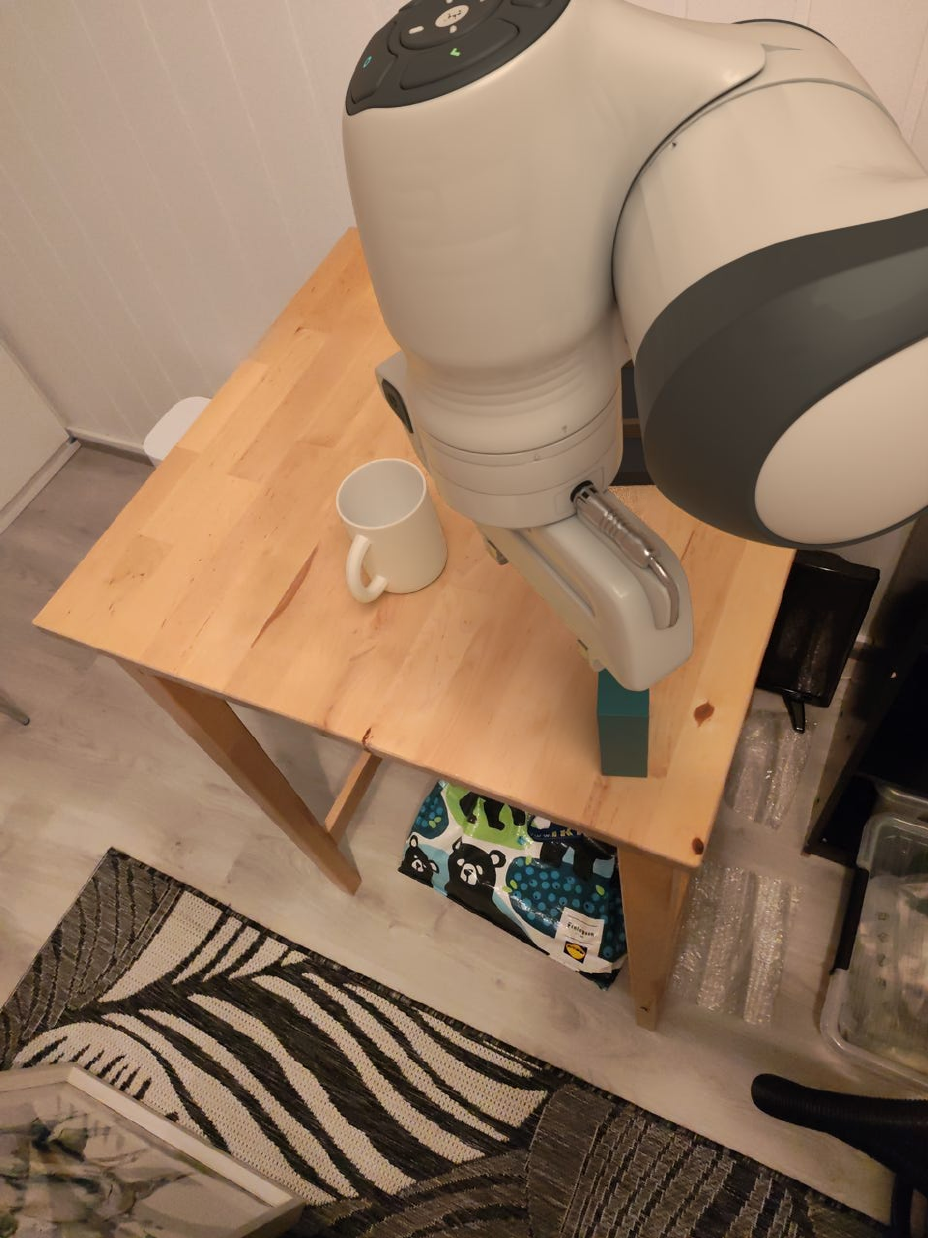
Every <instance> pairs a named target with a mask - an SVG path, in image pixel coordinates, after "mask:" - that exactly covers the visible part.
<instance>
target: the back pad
mask: <svg viewBox="0 0 928 1238" xmlns="http://www.w3.org/2000/svg"><path fill="white" fill-rule="evenodd" d="M597 673H598V674H597V695H596V696H597V698H596V699H597V701H596V722H597V723H596V724H597V733H598V743H599V754H600V755H599V756H600V767H601V775H602V776H604V777H624V778H648V768H649V767H648V766H649V761H648V760H649V737H650V735H649V732H650V688H648V689H646V690H643V691H632V690H628V689H626V688H624V687H623V686H622V685H621V684H620V683H619V682H618V681H617V680H616V679H615V678H614V677H613V676H612V674H611V673H610V672H609V671H608V670H607V669H606V668H605V669H603V670H602V671H600V672H597Z"/></svg>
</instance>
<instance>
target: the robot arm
mask: <svg viewBox="0 0 928 1238" xmlns="http://www.w3.org/2000/svg"><path fill="white" fill-rule="evenodd" d="M341 119H342V120H341V134H342V136H341V137H342V147H343V157H344V165H345V171H346V179H347V184H348V190H349V195H350V201H351V206H352V210H353V214H354V219H355V223H356V228H357V231H358V232H357V233H358V237H359V239H360V244H361V249H362V252H363V256H364V260H365V263H366V266H367V270H368V274H369V277H370V278H369V279H370V281H371V285H372V288H373V291H374V294H375V298H376V302H377V304H378V308H379V311H380V314H381V317H382V320H383V322H384V325H385V327H386V329H387V331H388V332H389V334H390V336H391V337H392V339H393V340H394V342H395V343H396V345H397V346H398V347H399V348H400V350H399V351H397V352H395V353H394V354H392V355H391V356H390V357H388V358H386V359H385V360H383V361H381V362H380V363H379V364H378V365H376V366H375V367H374V375H375V380H376V382H377V385H378V388H379V391H380V393H381V395H382V397H383V398H384V400H385V402H386V403H387V404H388V406H389V407H390V409H391V410H392V411H393V413H395V415H396V416H397V417H398V419H399V420H400V422H401V424H402V426H403V428H404V430H405V433H406V435H407V438H408V440H409V443H410V445H411V447H412V449H413V451H414V453H415V455H416V456H417V458H418V460H419V462H420V463H421V465H422V467H423V468H424V469H425V470H426V472H427V473H428V474H429V476H430V477H431V478H432V482H433V484H434V487H435V489H436V491H437V493H438V494H439V496H440V497H441V498H442V500H443V501H444V502H445V504H447V505H448V506H449V508H451V509H452V510H453V511H454V512H456V513H458V514H459V515H461V516H462V517H464V518H466V519H468V520H470V521H471V522H472V523H473V524H474V526H475V527H476V528H477V530H478V532H479V534H480V535H481V537H482V541H483V544H484V548H485V551H486V552H487V553H488V554H489V555H490V557H492V558H493V560H494V561H496V563H497V564H498V565H500V566H504V565H506V564H508V563H510V565H511V566H512V567H513V568H514V569H515V570H516V571H517V572H518V573H519V574H520V575H521V577H522V578H523V579H524V580H525V581H526V582H527V583H528V584H529V586H530V587H531V588H532V589H533V590H534V591H535V592H536V593H537V595H539V596H540V597H541V599H542V600H543V601H544V602H546V604H547V605H548V606H549V607H550V608H551V610H552V611H553V612H554V613H555V614H556V615H557V616H558V617H559V618H560V620H562V622H563V623H564V624H565V625H566V626H567V627H568V629H570V631H571V632H572V633H573V634H574V635H575V636H576V637H577V639H578V640H577V642H576V643H577V648H578V654H579V655H580V657H581V658H582V659H583V661H585V662H586V664H587V665H588V666H589V667H590V668H591V669H592V670H593V672H595V673H598V672H600V671H602V670H603V669H605V668H606V669H607V670H608V671H609V672H610V673H611V674H612V676H613V677H614V678H615V679H616V680H617V681H618V682H619V683H620V684H621V685H622V686H623V687H624V688H626V689H628V690H632V691H643V690H646V689H648V688H649V689H650V688H651V687H653V686H656V685H657V684H658V683H660V682H661V681H663V680H664V679H666V678H668V677H669V676H670V675H672V674H673V673H674V672H676V671H677V670H678V669H680V668H681V667H682V666H683V665H684V664H685V663H686V662H688V661H689V660H690V658H691V657H692V655H693V653H694V649H695V646H694V645H695V626H694V625H695V624H694V610H693V603H692V602H693V601H692V595H691V588H690V583H689V580H688V576H687V573H686V570H685V568H684V566H683V564H682V562H681V560H680V558H679V557H678V555H677V554H676V553H675V551H674V550H673V549H672V548H671V546H670V545H669V544H668V543H667V542H666V541H665V540H664V539H663V538H662V537H661V536H660V535H659V533H657V532H656V531H655V530H654V529H653V528H652V527H651V526H649V525H648V524H647V523H646V522H645V521H644V520H643V519H642V518H641V517H639V516H638V515H637V513H635V512H634V511H633V510H632V509H631V508H630V507H628V506H627V505H626V504H625V503H624V502H623V501H622V500H621V499H620V498H619V497H617V496H616V495H615V494H614V493H613V492H612V491H611V490H610V489H609V487H610V486H609V485H610V484H611V482H612V481H613V479H614V477H615V476H616V474H617V471H618V469H619V467H620V463H621V460H622V454H623V424H622V391H621V368H622V366H623V365H624V364H625V363H626V362H627V361H629V360H631V359H632V360H633V364H634V384H635V392H636V399H637V407H638V414H639V422H640V429H641V437H642V444H643V452H644V459H645V463H646V467H647V470H648V472H649V475H650V477H651V479H652V480H653V482H654V484H655V485H654V486H655V487H656V488H657V490H658V491H659V492H660V493H661V494H662V495H663V496H664V497H665V498H666V499H667V500H668V501H669V502H671V503H672V504H673V505H675V506H676V507H678V508H679V509H680V510H682V511H684V512H685V513H686V514H688V515H690V516H691V517H692V518H694V519H696V520H698V521H700V522H701V523H704V524H706V525H708V526H710V527H712V528H714V529H717V530H719V531H722V532H724V533H726V534H729V535H732V536H734V537H738V538H740V539H743V540H747V541H750V542H754V543H758V544H761V545H766V546H770V547H776V548H783V549H789V550H800V551H827V550H834V549H841V548H846V547H850V546H854V545H855V546H856V545H859V544H861V543H866V542H868V541H871V540H874V539H877V538H880V537H882V536H884V535H887V534H889V533H893V532H894V531H896V530H898V529H900V528H903V527H904V526H906V525H908V524H910V523H912V522H914V521H915V520H917V519H919V518H921V517H922V516H924V515H925V514H927V513H928V169H927V168H926V167H925V165H924V164H923V162H922V161H921V159H920V158H919V157H918V156H917V155H916V153H915V151H914V150H913V149H912V147H911V146H910V145H909V143H908V142H907V140H906V139H905V138H904V136H903V134H902V132H901V129H900V126H899V124H898V123H897V121H896V120H895V118H894V117H893V116H892V114H891V112H889V110H888V109H887V107H886V106H885V104H884V103H883V102H882V101H881V98H880V97H879V96H878V95H877V93H876V91H874V89H873V88H872V87H871V85H870V84H869V82H868V81H867V80H866V79H865V77H864V76H863V75H862V73H860V70H858V68H857V67H856V66H855V65H854V63H852V61H851V60H850V59H849V58H848V57H847V55H845V54H844V53H843V51H841V50H840V49H839V47H837V46H836V45H835V44H834V43H833V42H832V41H831V40H830V39H829V38H827V36H824V35H823V34H822V33H820V32H818V31H817V30H815V29H813V28H811V27H809V26H806V25H804V24H801V23H798V22H794V21H790V20H785V19H778V18H753V19H745V20H739V21H734V22H731V23H728V22H727V23H725V22H711V21H702V20H694V19H689V18H683V17H677V16H674V15H671V14H670V15H669V14H666V13H662V12H658V11H654V10H651V9H649V8H645V7H642V6H639V5H637V4H634V3H632V2H629V1H627V0H409V2H407V3H406V4H405V5H403V6H401V7H400V8H399V9H398V11H397V13H396V14H395V15H394V16H393V17H391V18H390V19H389V20H388V21H387V22H386V23H385V24H384V25H383V26H382V27H380V29H378V30H377V31H376V32H375V33H374V34H373V35H372V36H371V38H370V40H369V41H368V43H367V44H366V46H365V48H364V50H363V52H362V54H361V55H360V57H359V59H358V61H357V63H356V66H355V68H354V71H353V73H352V76H351V77H350V80H349V83H348V86H347V90H346V94H345V99H344V103H343V110H342V118H341Z"/></svg>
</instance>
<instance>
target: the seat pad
mask: <svg viewBox="0 0 928 1238" xmlns="http://www.w3.org/2000/svg"><path fill="white" fill-rule="evenodd" d="M621 391H622V424H623V454H622V460H621V463H620V467H619V469H618V471H617V474H616V476H615V477H614V479H613V481H612V482H611V484H610V485H609V486H608V487H617V486H618V487H621V486H656V485H655V484H654V482H653V480H652V479H651V477H650V475H649V472H648V470H647V467H646V463H645V459H644V452H643V444H642V437H641V429H640V422H639V414H638V407H637V399H636V392H635V384H634V364H633V360H632V359H631V360H629V361H627V362H626V363H625V364H624V365H623V366H622V368H621Z"/></svg>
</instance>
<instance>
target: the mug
mask: <svg viewBox="0 0 928 1238" xmlns="http://www.w3.org/2000/svg"><path fill="white" fill-rule="evenodd" d="M335 508H336V511H337V514H338V516H339V518H340V520H341V522H342V524H343V526H344V528H345V531H346V533H347V535H348V536H349V539H350V541H351V545H350V547H349V550H348V553H347V557H346V561H345V562H346V563H345V581H346V585H347V589H348V591H349V594H351V596H352V598H354V599H355V601H358V602H360V603H370V602H373V601H375V600H377V599H378V598H379V597H380V595H382V593H383V592H384V591H386V592H388V593H392V594H408V593H414V592H417V591H420V590H422V589H424V588H426V587H428V586H429V585H431V584H432V583H433V582H435V580H436V579H438V578H439V576H440V575H441V573H443V570H444V568H445V566H446V563H447V560H448V548H447V543H446V539H445V536H444V533H443V530H442V527H441V523H440V520H439V517H438V514H437V511H436V508H435V504H434V501H433V498H432V494H431V492H430V488H429V486H428V482H427V479H426V476H425V474H424V473H423V471H422V470H421V469H420V468H419V467H418V466H417V465H416V464H414V463H412V462H410V461H408V460H405V459H403V458H402V459H401V458H395V457H387V458H386V457H385V458H379V459H374V460H371V461H368V462H366V463H364V464H362V465H360V466H358V467H357V468H355V469H354V470H353V471H351V472H350V473H349V474H348V475H347V476H346V477H345V478H344V479H343V481H341V483H340V485H339V487H338V489H337V491H336V496H335ZM362 568H363V569H364V571H365V572H366V574H367V576H368V577H369V579H370V581H371V582H370V583H369V584H368V586H366V587H365V585H364V584H363V579H362Z"/></svg>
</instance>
